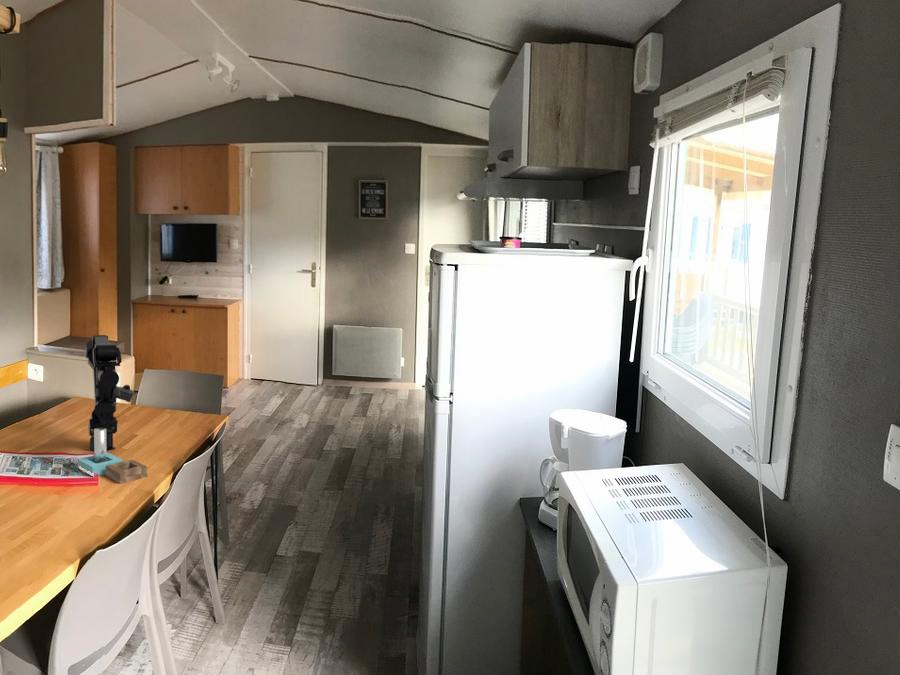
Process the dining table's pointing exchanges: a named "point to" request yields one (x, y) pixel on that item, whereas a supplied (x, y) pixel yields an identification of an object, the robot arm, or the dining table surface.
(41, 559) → the dining table surface
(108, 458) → the seat block
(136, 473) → the brown square socket block
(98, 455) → the steel rod
